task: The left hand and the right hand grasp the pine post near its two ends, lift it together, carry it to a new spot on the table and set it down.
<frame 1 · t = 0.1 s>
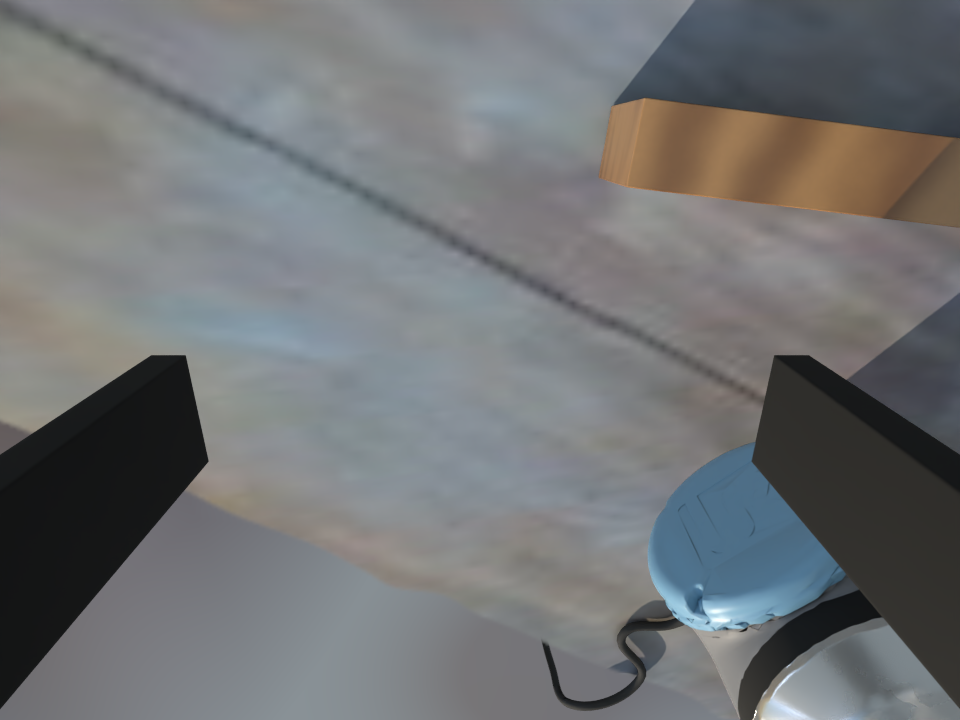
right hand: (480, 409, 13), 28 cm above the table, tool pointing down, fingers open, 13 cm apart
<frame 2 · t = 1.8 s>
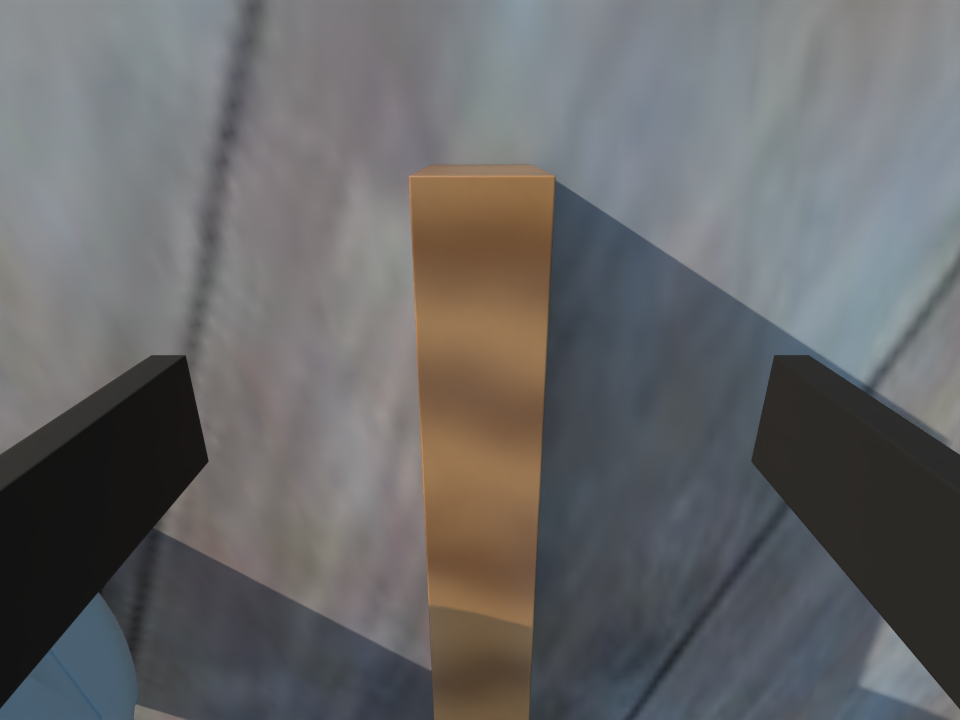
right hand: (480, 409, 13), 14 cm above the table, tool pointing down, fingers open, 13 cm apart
post: (481, 620, 34), on the table
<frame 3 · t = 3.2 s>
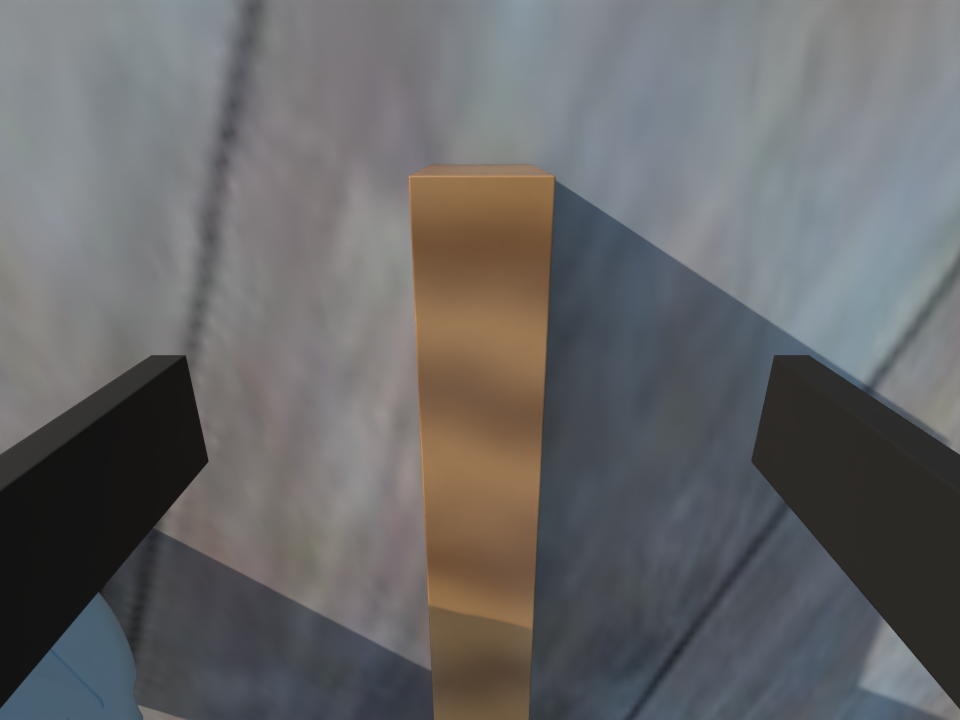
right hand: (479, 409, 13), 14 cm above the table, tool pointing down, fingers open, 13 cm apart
post: (481, 620, 34), on the table, touching left hand
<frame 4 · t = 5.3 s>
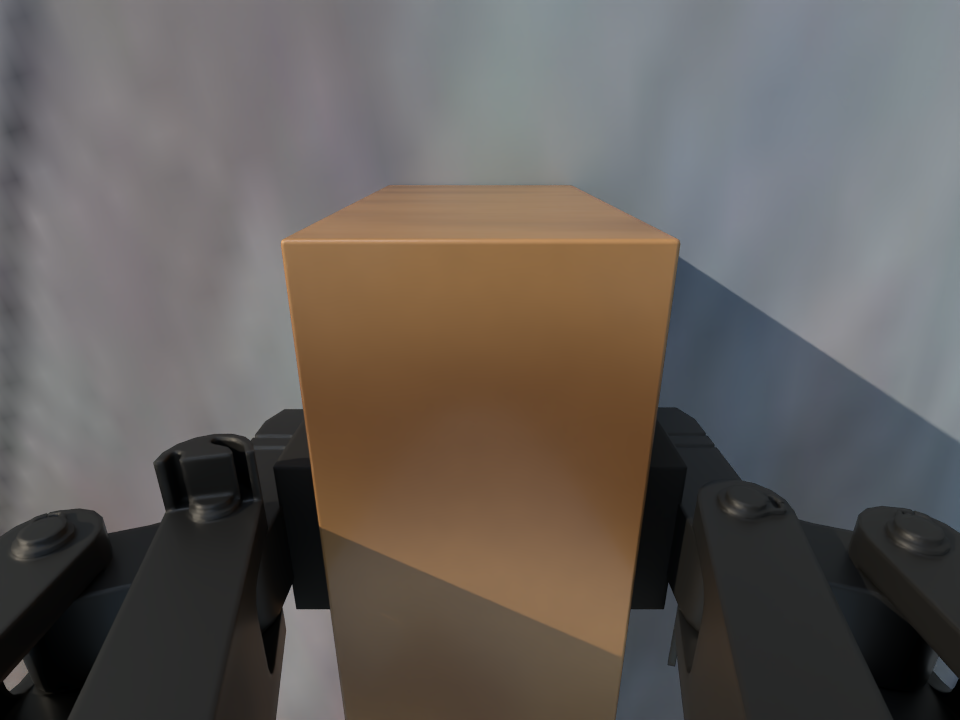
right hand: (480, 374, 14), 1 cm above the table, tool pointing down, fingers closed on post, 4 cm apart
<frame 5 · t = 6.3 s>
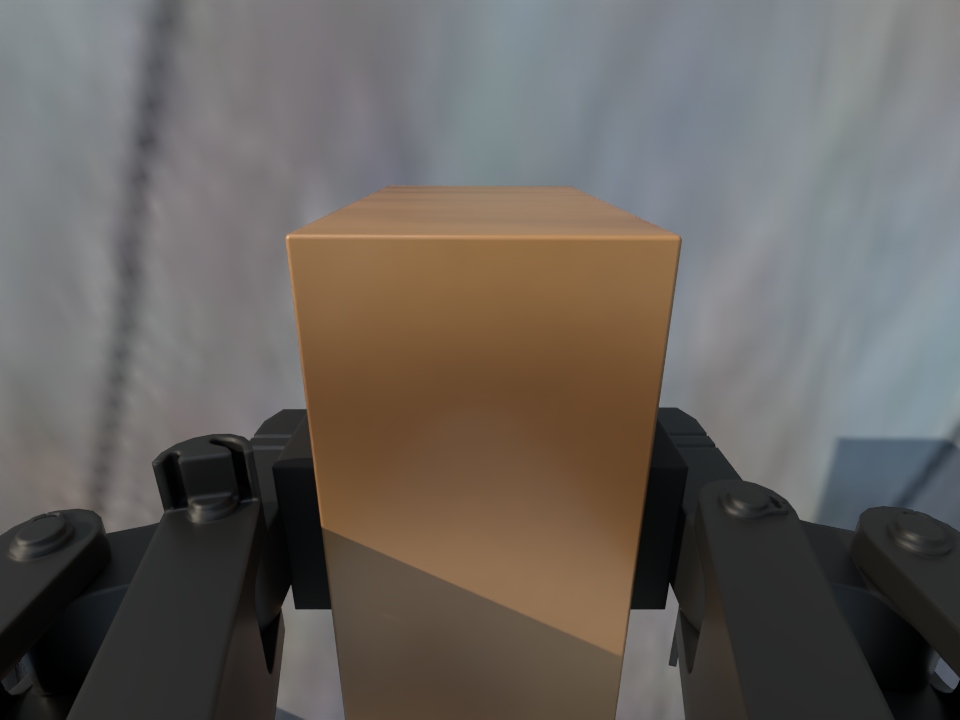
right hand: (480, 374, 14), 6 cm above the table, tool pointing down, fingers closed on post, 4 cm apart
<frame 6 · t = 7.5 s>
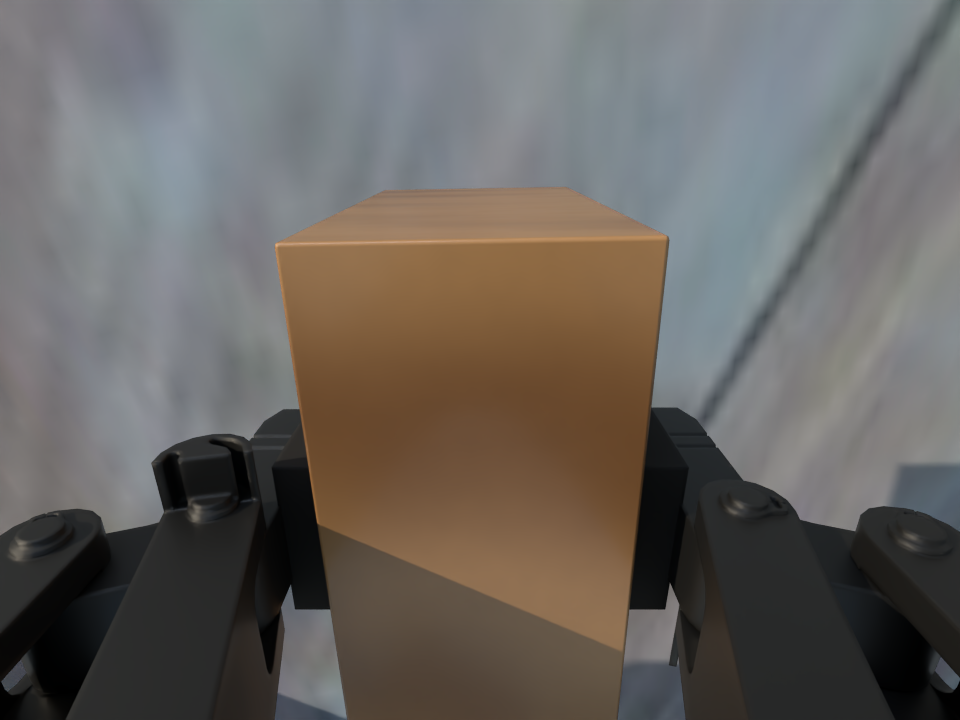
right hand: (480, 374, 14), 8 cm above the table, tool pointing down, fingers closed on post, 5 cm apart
when the left hand's fingers open (2 cm above the table, at t = 9.6 s): post drops 2 cm, on the table.
when the right hand's fingers open (2 cm above the table, at t = 9.6 s): post drops 2 cm, on the table.
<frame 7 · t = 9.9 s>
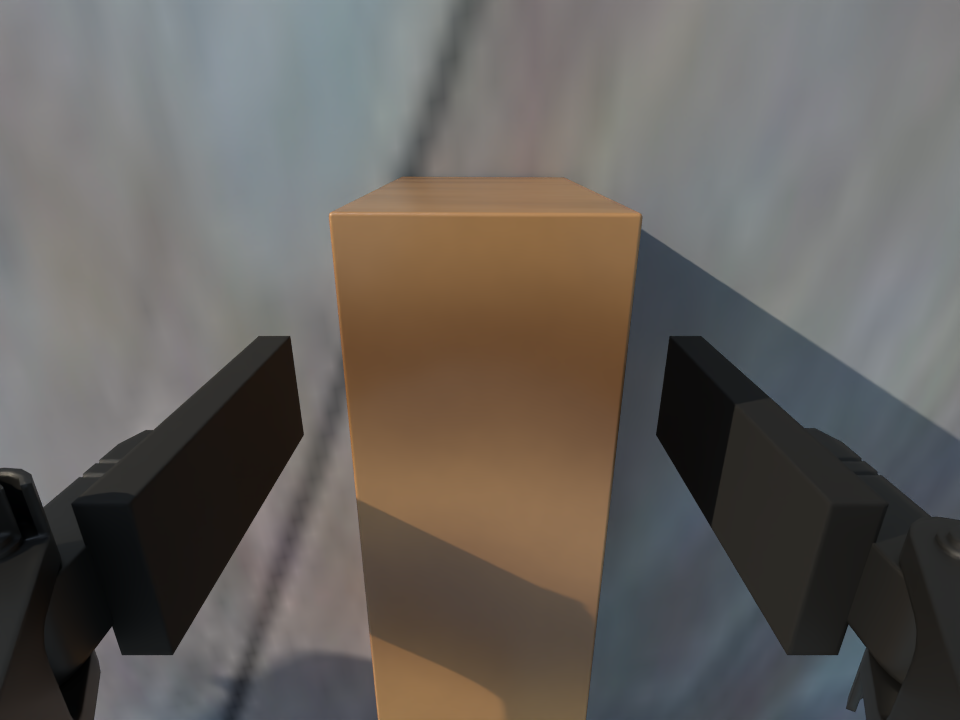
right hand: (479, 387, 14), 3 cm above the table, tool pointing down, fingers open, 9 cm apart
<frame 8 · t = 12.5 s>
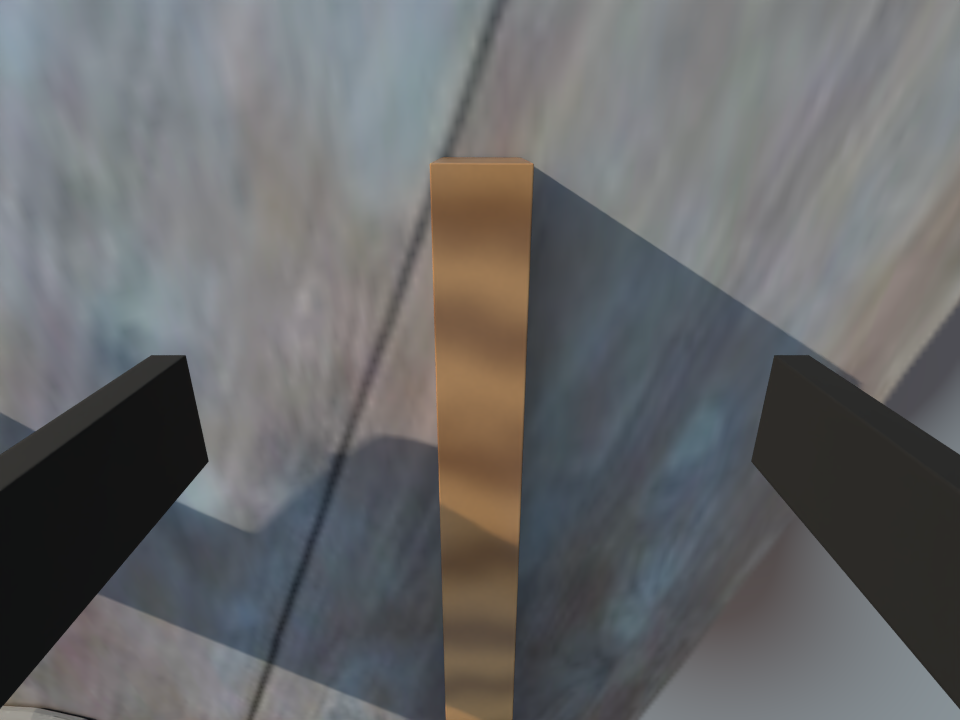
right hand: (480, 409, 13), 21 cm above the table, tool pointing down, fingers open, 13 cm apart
post: (479, 537, 41), on the table
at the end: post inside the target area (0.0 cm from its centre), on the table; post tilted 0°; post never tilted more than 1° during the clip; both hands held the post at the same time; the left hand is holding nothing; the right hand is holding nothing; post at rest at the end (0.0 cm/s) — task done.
